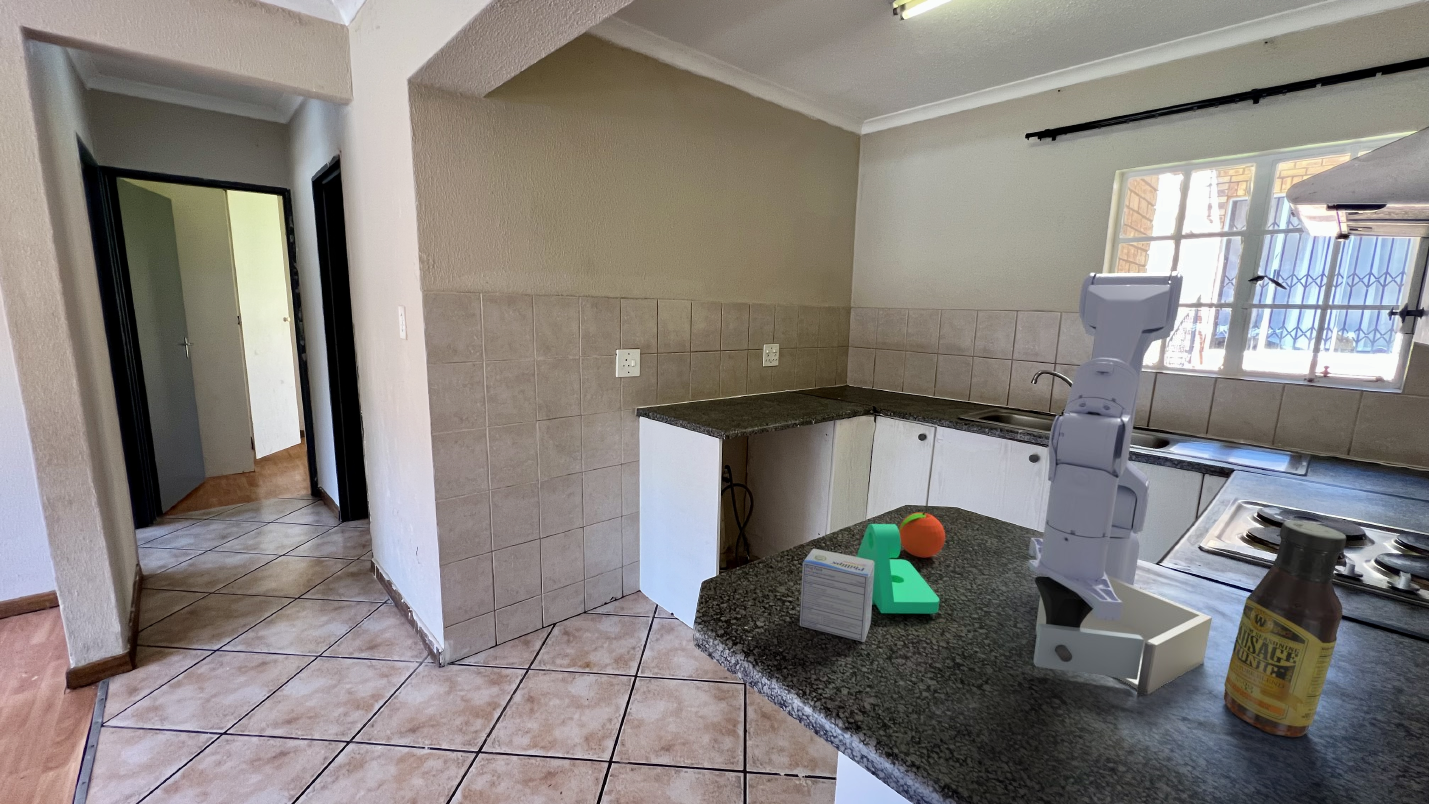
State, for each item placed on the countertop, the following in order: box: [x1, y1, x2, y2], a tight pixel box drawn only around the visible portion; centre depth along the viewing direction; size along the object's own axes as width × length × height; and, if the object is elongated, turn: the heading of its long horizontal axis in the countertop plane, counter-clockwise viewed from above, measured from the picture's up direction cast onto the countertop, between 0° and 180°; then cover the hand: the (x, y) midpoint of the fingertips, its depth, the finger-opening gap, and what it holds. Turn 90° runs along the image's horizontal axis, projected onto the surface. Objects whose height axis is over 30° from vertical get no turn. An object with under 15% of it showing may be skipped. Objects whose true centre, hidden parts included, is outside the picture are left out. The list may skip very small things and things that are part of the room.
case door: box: [1033, 623, 1144, 680], centre depth 59 cm, size 2×10×5 cm, turn 79°
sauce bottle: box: [1223, 520, 1347, 738], centre depth 53 cm, size 6×6×20 cm
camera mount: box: [856, 523, 940, 614], centre depth 76 cm, size 12×8×10 cm, turn 2°
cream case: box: [1034, 575, 1213, 696], centre depth 65 cm, size 13×12×6 cm
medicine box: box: [799, 548, 875, 643], centre depth 68 cm, size 8×4×9 cm, turn 65°
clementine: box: [898, 512, 946, 558], centre depth 88 cm, size 8×7×7 cm
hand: (1060, 645), depth 61 cm, fingers closed
